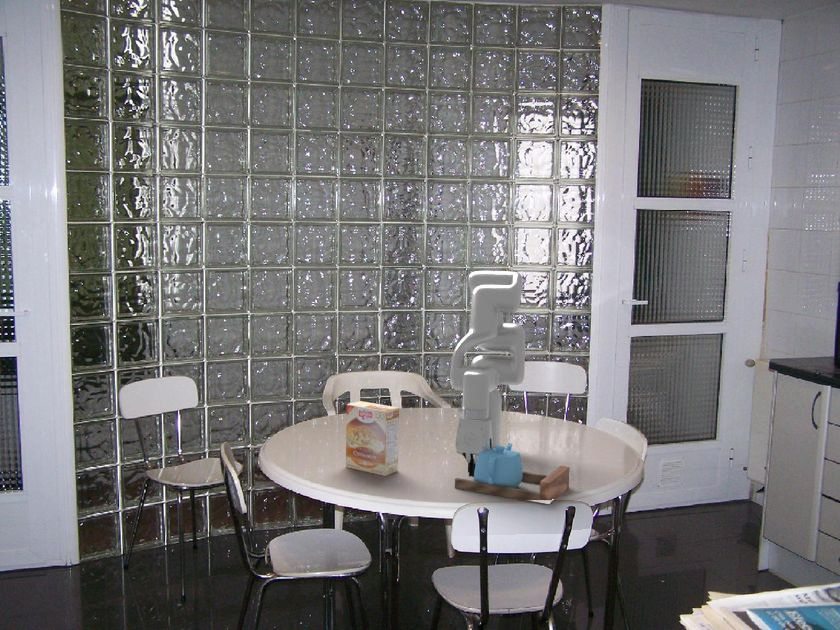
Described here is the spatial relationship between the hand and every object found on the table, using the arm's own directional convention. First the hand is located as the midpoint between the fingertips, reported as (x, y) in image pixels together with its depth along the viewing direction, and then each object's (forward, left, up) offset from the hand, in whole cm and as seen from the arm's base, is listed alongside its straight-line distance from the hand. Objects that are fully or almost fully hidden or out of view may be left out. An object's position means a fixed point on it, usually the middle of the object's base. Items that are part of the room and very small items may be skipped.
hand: (473, 475), depth 229 cm
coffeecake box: (-31, -6, -2) cm, 31 cm away
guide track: (+12, 0, -1) cm, 12 cm away
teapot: (+9, -1, -1) cm, 9 cm away
